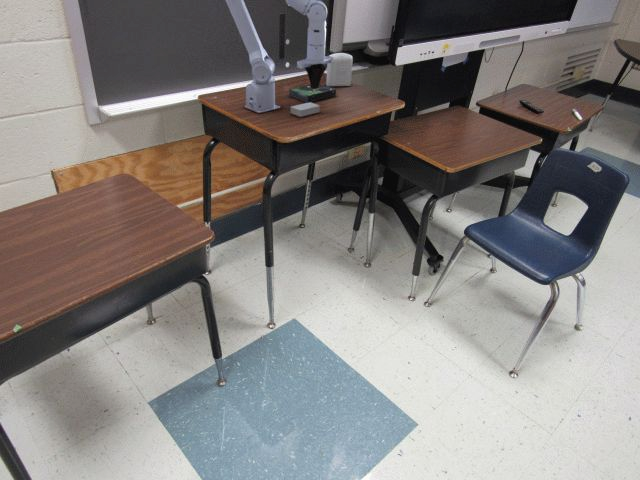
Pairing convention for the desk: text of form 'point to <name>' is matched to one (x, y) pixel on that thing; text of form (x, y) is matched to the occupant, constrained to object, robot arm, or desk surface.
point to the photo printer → (339, 70)
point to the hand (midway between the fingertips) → (314, 88)
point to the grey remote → (305, 109)
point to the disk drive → (312, 93)
